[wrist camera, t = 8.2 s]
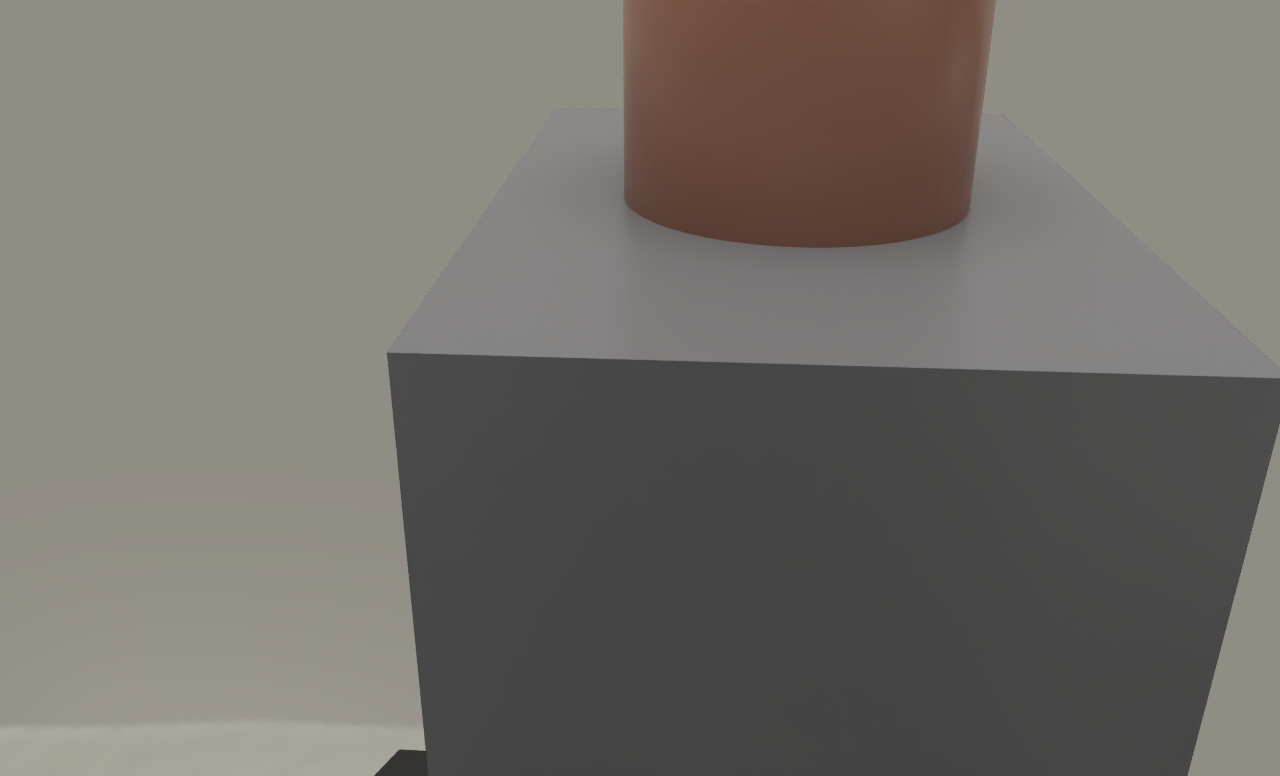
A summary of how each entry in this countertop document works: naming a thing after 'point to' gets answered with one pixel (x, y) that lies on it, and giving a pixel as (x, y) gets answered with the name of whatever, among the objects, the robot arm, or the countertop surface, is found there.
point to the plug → (817, 430)
